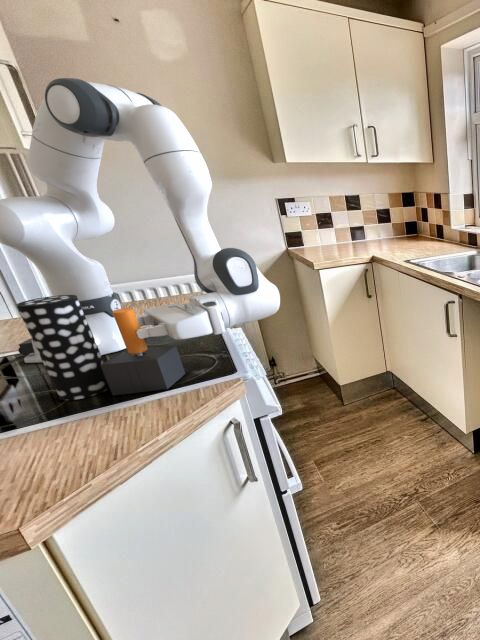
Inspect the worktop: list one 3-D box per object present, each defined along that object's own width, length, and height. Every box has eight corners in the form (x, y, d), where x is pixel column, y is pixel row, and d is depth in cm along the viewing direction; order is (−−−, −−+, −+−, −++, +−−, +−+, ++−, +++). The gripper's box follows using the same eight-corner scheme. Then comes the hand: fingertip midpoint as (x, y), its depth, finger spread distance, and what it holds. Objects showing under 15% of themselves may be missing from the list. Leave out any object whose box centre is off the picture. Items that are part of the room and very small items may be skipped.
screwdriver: (138, 388, 90) (108, 313, 83) (146, 381, 93) (118, 308, 86) (155, 386, 91) (127, 312, 84) (163, 379, 94) (136, 307, 87)
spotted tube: (52, 404, 84) (6, 308, 77) (69, 387, 91) (28, 298, 84) (105, 394, 88) (66, 301, 81) (118, 379, 95) (83, 292, 88)
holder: (112, 395, 87) (99, 364, 85) (135, 379, 94) (124, 350, 92) (167, 389, 89) (156, 359, 87) (185, 373, 97) (176, 345, 94)
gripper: (186, 294, 102) (112, 307, 92) (219, 307, 91) (138, 324, 80) (194, 318, 105) (122, 334, 94) (227, 334, 93) (149, 354, 83)
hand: (130, 330), depth 87 cm, fingers open, 8 cm apart
